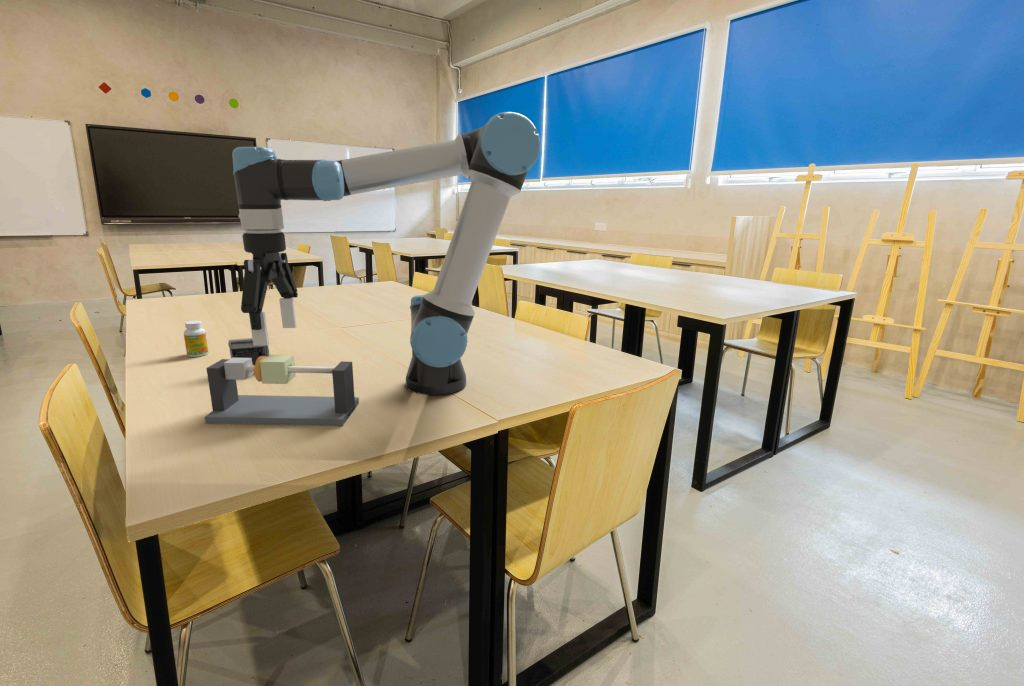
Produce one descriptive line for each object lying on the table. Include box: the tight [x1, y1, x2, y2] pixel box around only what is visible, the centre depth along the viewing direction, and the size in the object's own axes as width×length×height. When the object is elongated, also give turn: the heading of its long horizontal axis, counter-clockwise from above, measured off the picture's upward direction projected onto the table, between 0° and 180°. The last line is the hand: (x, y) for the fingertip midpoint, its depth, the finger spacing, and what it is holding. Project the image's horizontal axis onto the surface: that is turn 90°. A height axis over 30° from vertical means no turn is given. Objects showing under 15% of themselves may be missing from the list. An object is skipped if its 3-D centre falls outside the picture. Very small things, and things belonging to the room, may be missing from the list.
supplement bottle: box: [183, 320, 209, 358], centre depth 147 cm, size 5×5×10 cm
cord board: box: [204, 356, 360, 427], centre depth 109 cm, size 28×12×13 cm, turn 91°
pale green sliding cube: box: [260, 354, 296, 385], centre depth 108 cm, size 5×5×5 cm
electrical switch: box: [227, 337, 271, 365], centre depth 134 cm, size 9×5×9 cm, turn 113°
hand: (276, 335), depth 106 cm, fingers open, 13 cm apart
